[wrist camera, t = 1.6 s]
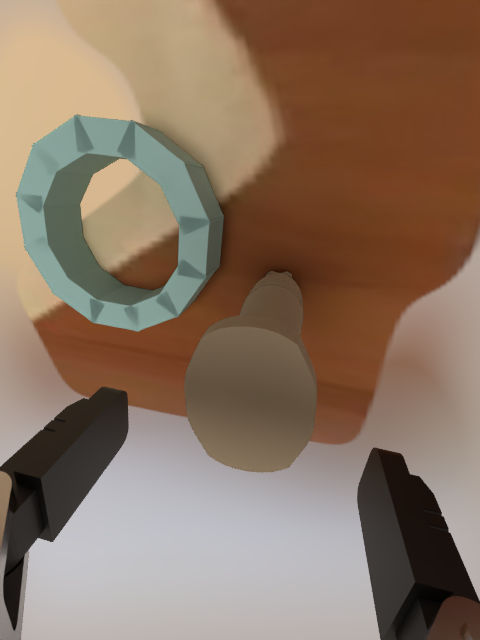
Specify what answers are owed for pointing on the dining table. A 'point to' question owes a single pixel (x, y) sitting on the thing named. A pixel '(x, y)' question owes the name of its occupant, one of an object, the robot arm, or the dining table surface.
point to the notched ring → (66, 225)
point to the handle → (254, 381)
